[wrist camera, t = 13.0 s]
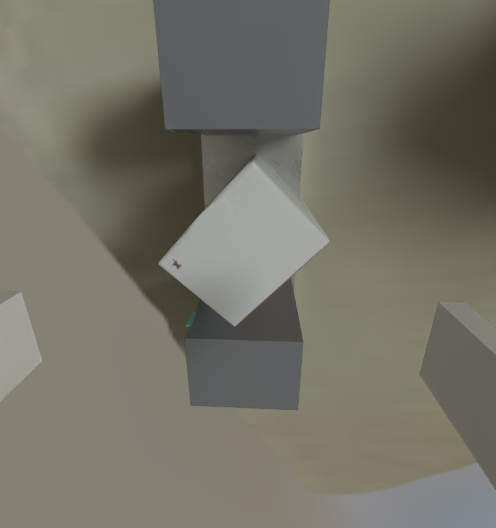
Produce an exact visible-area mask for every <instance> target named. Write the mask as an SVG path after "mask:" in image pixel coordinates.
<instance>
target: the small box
mask: <svg viewBox="0 0 496 528" xmlns="http://www.w3.org/2000/svg"><path fill="white" fill-rule="evenodd" d="M327 244H329V239H328V237H327V236H326V234H325V233H324V231H323V230H322V228H321V227H320V226H319V224H318V223H317V221H316V220H315V218H314V217H313V215H312V214H311V212H310V211H309V209H308V208H307V207H306V205H305V204H304V203H303V201H302V200H301V199H300V198H299V197H298V196H297V195H296V194H295V193H294V192H293V191H292V190H291V189H290V188H289V187H288V186H287V185H286V183H285V182H284V181H283V180H282V179H281V178H280V177H279V176H278V175H277V174H276V173H275V172H274V171H273V170H272V169H271V168H270V167H269V166H268V165H267V164H266V163H265V162H264V161H263V160H262V159H261V158H260V157H259V156H258V155H257V154H255V155H253V156H252V157H251V158H250V160H249V161H248V162H247V163H246V164H245V165H244V166H243V167H242V168H241V169H240V170H239V171H238V172H237V174H236V175H235V176H234V177H233V178H232V179H231V180H230V181H229V182H228V184H227V185H226V186H225V187H224V188H223V189H222V190H221V191H220V192H219V194H218V195H217V196H216V197H215V198H214V199H213V200H212V202H211V203H210V204H209V205H208V206H207V207H206V208H205V210H204V211H203V212H202V213H201V214H200V215H199V216H198V217H197V218H196V219H195V221H194V222H193V223H192V224H191V225H190V226H189V227H188V229H187V230H186V231H185V232H184V233H183V235H182V236H181V237H180V238H179V239H178V240H177V241H176V243H175V244H174V245H173V246H172V247H171V248H170V250H169V251H168V252H167V253H166V254H165V255H164V257H163V258H162V259H161V260H160V261H159V263H158V264H159V266H161V267H162V268H163V269H165V270H166V271H167V272H168V273H170V274H171V275H172V276H173V277H175V278H176V279H177V280H178V281H179V282H181V283H182V284H183V285H184V286H185V287H187V288H188V289H189V290H190V291H191V292H193V293H194V294H195V295H196V296H197V297H199V298H200V299H201V300H202V301H204V302H205V303H206V304H207V305H209V306H210V307H211V308H212V309H213V310H215V311H216V312H217V313H218V314H220V315H221V316H222V317H223V318H224V319H226V320H227V321H228V322H229V323H231V324H232V325H233V326H237V325H238V324H239V323H240V322H242V321H243V320H244V319H245V318H246V317H247V316H248V315H249V314H250V313H252V312H253V311H254V310H255V309H256V308H257V307H258V306H259V305H260V304H262V303H263V302H264V301H265V300H266V299H267V298H268V297H269V296H271V295H272V294H273V293H274V292H275V291H276V290H277V289H278V288H280V287H281V286H282V285H283V284H284V283H285V282H286V281H287V280H289V279H290V278H291V277H292V276H293V275H294V274H295V273H296V272H297V271H298V270H300V269H301V268H302V267H303V266H304V265H305V264H306V263H307V262H308V261H310V260H311V259H312V258H313V257H314V256H315V255H316V254H317V253H318V252H320V251H321V250H322V249H323V248H324V247H325V246H326V245H327Z"/></svg>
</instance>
